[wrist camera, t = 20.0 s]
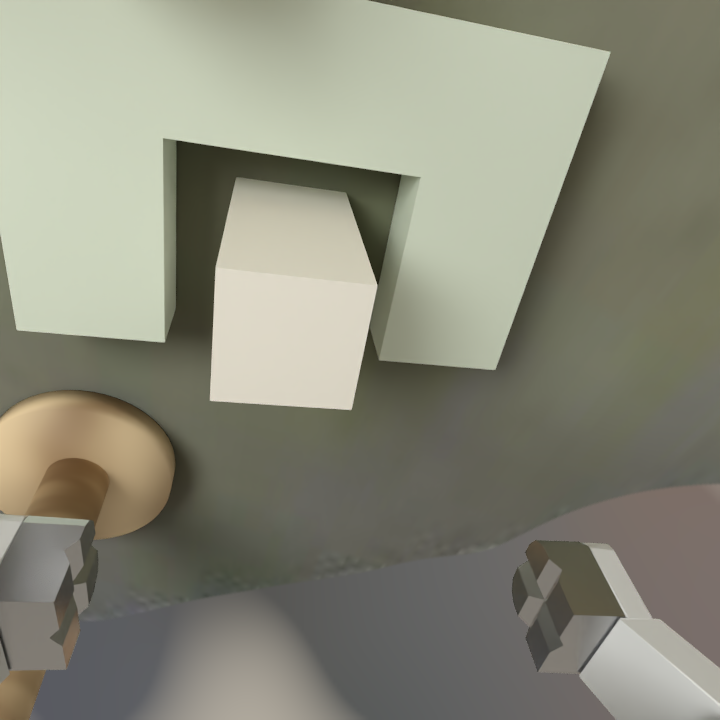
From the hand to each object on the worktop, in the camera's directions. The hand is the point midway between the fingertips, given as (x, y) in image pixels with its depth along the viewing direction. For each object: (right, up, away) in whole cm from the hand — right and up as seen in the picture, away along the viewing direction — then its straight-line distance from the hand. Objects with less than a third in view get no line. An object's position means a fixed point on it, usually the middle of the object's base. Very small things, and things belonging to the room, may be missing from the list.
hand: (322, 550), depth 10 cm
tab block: (-3, +9, +14) cm, 17 cm away
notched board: (-2, +11, +12) cm, 17 cm away
